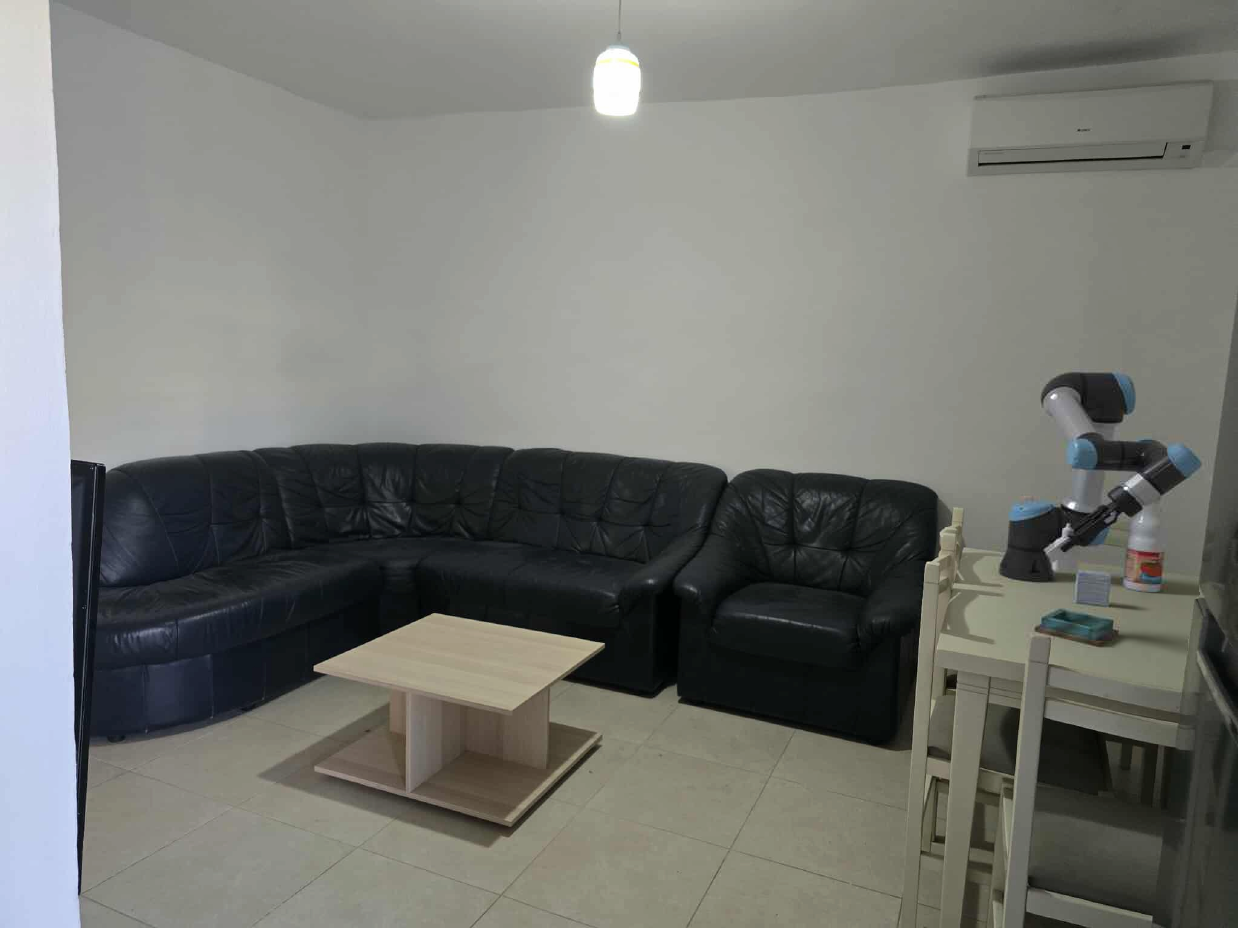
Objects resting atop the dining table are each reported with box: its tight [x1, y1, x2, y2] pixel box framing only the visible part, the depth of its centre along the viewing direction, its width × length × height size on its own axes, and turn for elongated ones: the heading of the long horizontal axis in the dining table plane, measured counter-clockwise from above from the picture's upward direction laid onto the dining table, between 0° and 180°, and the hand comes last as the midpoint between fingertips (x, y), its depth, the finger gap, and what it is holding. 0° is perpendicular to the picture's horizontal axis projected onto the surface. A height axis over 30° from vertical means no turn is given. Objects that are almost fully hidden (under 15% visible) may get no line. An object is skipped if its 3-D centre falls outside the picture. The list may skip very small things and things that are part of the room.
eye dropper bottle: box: [1051, 523, 1081, 574], centre depth 197 cm, size 4×6×12 cm
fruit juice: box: [1122, 496, 1167, 593], centre depth 236 cm, size 9×9×28 cm
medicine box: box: [1074, 569, 1112, 608], centre depth 220 cm, size 8×4×9 cm, turn 65°
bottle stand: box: [1034, 608, 1119, 648], centre depth 194 cm, size 14×14×4 cm
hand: (1048, 555), depth 199 cm, fingers closed on eye dropper bottle, 4 cm apart
